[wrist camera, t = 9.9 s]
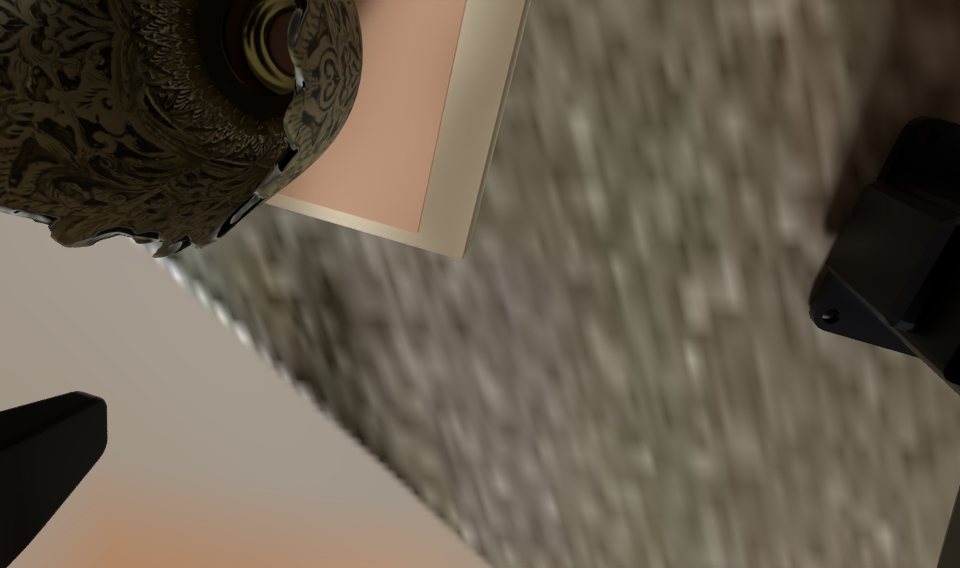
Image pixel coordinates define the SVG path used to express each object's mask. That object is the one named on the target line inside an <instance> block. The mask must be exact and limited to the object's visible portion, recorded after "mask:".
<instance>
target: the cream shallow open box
mask: <svg viewBox="0 0 960 568" xmlns="http://www.w3.org/2000/svg"><path fill="white" fill-rule="evenodd" d="M354 1H355V4H356V8H357V11H358V15H359V20H360V26H361V32H362V44H363V65H362V73H361V81H360V85H359V89H358V94H357V97H356V100H355V102H354V105H353V108H352V110H351V112H350V115H349V117H348V119H347V121H346V123H345V124H344V126H343V128H342V129H341V131H340V133H339V134H338V136H337V137H336V139H335V140H334V141H333V143H332V144H331V145H330V146H329V147H328V149H327V150H326V151H325V152H324V153H323V154H322V155H321V156H320V158H318V159H317V160H316V161H315V162H314V163H313V164H312V165H311V166H310V167H309V168H308V169H307V170H305V171H304V172H303V173H302V174H301V175H300V176H298V177H297V178H296V179H295V180H293V181H292V182H291V183H290V184H288V185H287V186H286V187H284V188H283V189H282V190H280V191H279V192H278V193H276V194H275V195H274V196H272V197H271V198H270V199H268V200H267V201H266V202H264V203H267V204H270V205H274V206H277V207H281V208H284V209H287V210H291V211H294V212H298V213H301V214H305V215H308V216H311V217H315V218H318V219H322V220H325V221H329V222H332V223H336V224H339V225H342V226H346V227H349V228H353V229H356V230H360V231H363V232H367V233H370V234H373V235H377V236H380V237H384V238H387V239H391V240H394V241H397V242H401V243H404V244H408V245H411V246H415V247H418V248H422V249H425V250H428V251H432V252H435V253H439V254H442V255H446V256H449V257H452V258H456V259H459V260H462V259H463V257H464V255H465V254H466V252H467V250H468V249H469V247H470V245H471V241H472V237H473V233H474V229H475V225H476V221H477V217H478V213H479V209H480V205H481V201H482V197H483V193H484V189H485V185H486V181H487V177H488V173H489V169H490V165H491V161H492V157H493V153H494V149H495V145H496V141H497V137H498V133H499V129H500V125H501V121H502V117H503V113H504V109H505V105H506V101H507V97H508V93H509V89H510V85H511V80H512V76H513V72H514V68H515V64H516V60H517V56H518V52H519V48H520V44H521V40H522V36H523V32H524V28H525V24H526V20H527V16H528V12H529V8H530V4H531V0H354ZM293 13H294V12H286V13H283V14H281V15H279V16H278V17H277V18H276V19H275V20H274V21H273V23H272V24H271V26H270V29H269V33H268V47H269V51H270V54H271V56H272V58H273V60H274V61H275V63H276V64H277V65H278V66H279V67H280V68H281V69H283V70H284V71H286V72H288V73H290V74H294V75H295V69H294V64H293V62H292V60H291V57H290V54H289V50H288V42H287V32H288V27H289V23H290V20H291V18H292V15H293Z"/></svg>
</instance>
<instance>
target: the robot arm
mask: <svg viewBox="0 0 960 568" xmlns="http://www.w3.org/2000/svg"><path fill="white" fill-rule="evenodd" d="M926 128H930V131H931V136H930V138H929V140H928V141H927V142H926V143H923V144H921V145H919V144H918V141H917V138H918V134H919V133H920V132H921V131H922V130H924V129H926ZM827 266H828V268H829V272H828V274H827V276H826V278H825V280H824V282H823V284H822V286H821V287H820V289H819V291H818V293H817V295H816V297H815V299H814V301H813V303H812V305H811V307H810V311H809V314H810V318H811V319H812V321H813V322H814V323H815V324H816V325H817V327H818V328H820V329H822V330H824V331H827V332H831V333H834V334H838V335H841V336H845V337H848V338H852V339H855V340H859V341H862V342H866V343H869V344H873V345H876V346H880V347H883V348H887V349H890V350H894V351H897V352H901V353H904V354H908V355H911V356H915V357H918V358H920V359H921V360H922V361H923V362H924V363H926V364H927V365H928V366H929V367H930V368H931V369H932V370H933V371H934V372H935V373H936V374H937V375H938V376H939V377H940V378H942V379H943V380H944V381H945V382H946V383H947V384H948V385H949V386H950V387H951V388H952V389H953V390H954V391H955V392H956V393H957V394H959V395H960V124H957V123H953V122H949V121H945V120H941V119H937V118H932V117H919V118H916V119H913V120H912V121H911V122H909V123H908V124H907V125H906V126H905V127H904V129H903V130H902V131H901V133H900V135H899V137H898V139H897V141H896V143H895V145H894V147H893V149H892V151H891V153H890V155H889V156H888V158H887V160H886V162H885V164H884V166H883V168H882V170H881V172H880V174H879V176H878V178H877V180H876V181H874V182H872V183H870V184H869V185H867V186H866V187H865V188H864V190H863V192H862V194H861V196H860V198H859V200H858V202H857V204H856V206H855V208H854V209H853V211H852V213H851V215H850V217H849V219H848V221H847V223H846V225H845V227H844V229H843V231H842V233H841V235H840V237H839V239H838V241H837V243H836V245H835V246H834V248H833V250H832V252H831V254H830V256H829V258H828V260H827ZM829 309H836V312H835V314H834V315H833V316H832V317H830V318H822V316H823V313H824V312H825V311H826V310H829ZM106 444H107V405H106V403H105V401H104V399H102V398H100V397H97V396H94V395H91V394H88V393H85V392H80V391H75V392H70V393H66V394H63V395H59V396H55V397H52V398H48V399H44V400H41V401H37V402H33V403H30V404H26V405H22V406H19V407H15V408H11V409H8V410H4V411H0V568H7V566H9V565H10V564H11V563H12V561H13V560H14V559H15V558H16V557H17V556H18V555H19V554H20V553H21V552H22V551H23V550H24V549H25V548H26V547H27V545H29V543H30V542H31V541H32V540H33V539H34V538H35V536H36V535H37V534H38V533H39V532H40V531H41V529H42V528H43V527H44V526H45V525H46V523H47V522H48V521H49V520H50V519H51V517H52V516H53V515H54V514H55V512H56V511H57V510H58V509H59V508H60V506H61V505H62V504H63V502H64V501H65V500H66V499H67V498H68V497H69V495H70V494H71V493H72V492H73V490H74V489H75V488H76V486H78V484H79V483H80V482H81V481H82V479H83V478H84V477H85V475H87V473H88V472H89V471H90V470H91V468H92V467H93V466H94V465H95V463H96V462H97V461H98V460H99V458H100V457H101V456H102V454H103V452H104V450H105V448H106ZM937 568H960V486H959V490H958V493H957V497H956V500H955V504H954V507H953V511H952V514H951V517H950V521H949V524H948V528H947V531H946V535H945V538H944V542H943V545H942V549H941V553H940V557H939V561H938V565H937Z"/></svg>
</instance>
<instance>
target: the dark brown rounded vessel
mask: <svg viewBox="0 0 960 568" xmlns="http://www.w3.org/2000/svg"><path fill="white" fill-rule="evenodd" d="M286 12H294V13H293V15H292V18H291V20H290V23H289V27H288V32H287V42H288V50H289V54H290V57H291V60H292V62H293V64H294V69H295V75H294V74H290V73H288V72H286V71H284V70H283V69H281V68H280V67H279V66H278V65H277V64H276V63H275V61H274V60H273V58H272V56H271V54H270V51H269V47H268V33H269V29H270V26H271V24H272V23H273V21H274V20H275V19H276V18H277V17H278V16H279V15H281V14H283V13H286ZM362 65H363V44H362V32H361V26H360V20H359V15H358V11H357V8H356V4H355V1H354V0H0V211H1V212H4V213H7V214H11V215H16V216H21V217H25V218H30V219H33V220H34V221H35V222H38V223H44V224H48V225H49V226H48V227H49V229H50V231H51V237H52V238H53V239H54V240H55V241H57V242H58V243H59V244H61V245H62V246H64V247H74V248H75V247H87V246H91V245H93V244H94V243H96V242H98V241H100V240H103V239H107V238H111V237H114V236H117V235H123V236H127V237H132V238H133V239H134V240H135V242H136V243H138V244H145V243H151V242H154V241H155V242H159V241H160V242H163V244H162V247H160V248H159V249H158V250H157V251H156V253H155V254H154V255H153V256H152V257H154V258H161V257H166V256H169V255H172V254H175V253H177V252H179V251H181V250H183V249H184V248H186V247H188V246H190V245H192V246H194V247H196V249H201V248H203V247H205V246H207V245H209V244H211V243H213V242H215V241H217V240H218V239H219V238H221V237H222V236H223V235H225V234H226V233H227V232H228V231H229V230H230V229H231V228H233V227H234V226H235V225H236V224H237V223H238V222H239V221H240V220H241V219H242V218H244V217H245V216H246V215H247V214H249V213H250V212H252V211H253V210H254V209H256V208H257V207H259V206H260V205H261V204H263V203H264V202H266V201H267V200H268V199H270V198H271V197H272V196H274V195H275V194H276V193H278V192H279V191H280V190H282V189H283V188H284V187H286V186H287V185H288V184H290V183H291V182H292V181H293V180H295V179H296V178H297V177H298V176H300V175H301V174H302V173H303V172H304V171H305V170H307V169H308V168H309V167H310V166H311V165H312V164H313V163H314V162H315V161H316V160H317V159H318V158H320V156H321V155H322V154H323V153H324V152H325V151H326V150H327V149H328V147H329V146H330V145H331V144H332V143H333V141H334V140H335V139H336V137H337V136H338V134H339V133H340V131H341V129H342V128H343V126H344V124H345V123H346V121H347V119H348V117H349V115H350V112H351V110H352V108H353V105H354V102H355V100H356V97H357V94H358V89H359V85H360V81H361V73H362Z"/></svg>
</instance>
